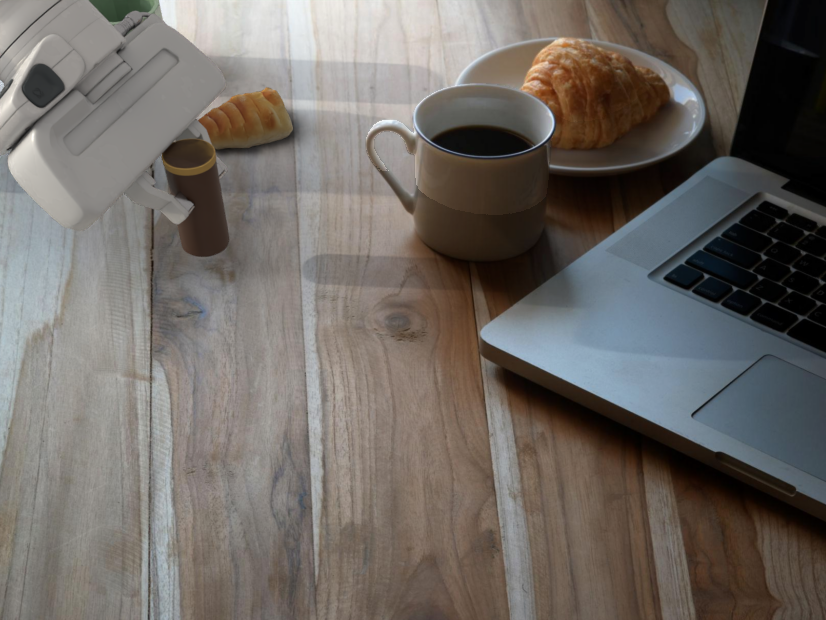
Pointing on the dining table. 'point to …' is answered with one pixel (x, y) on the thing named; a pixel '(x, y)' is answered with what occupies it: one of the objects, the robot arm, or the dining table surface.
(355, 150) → the dining table surface
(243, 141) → the pastry
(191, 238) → the tube
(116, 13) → the canister
